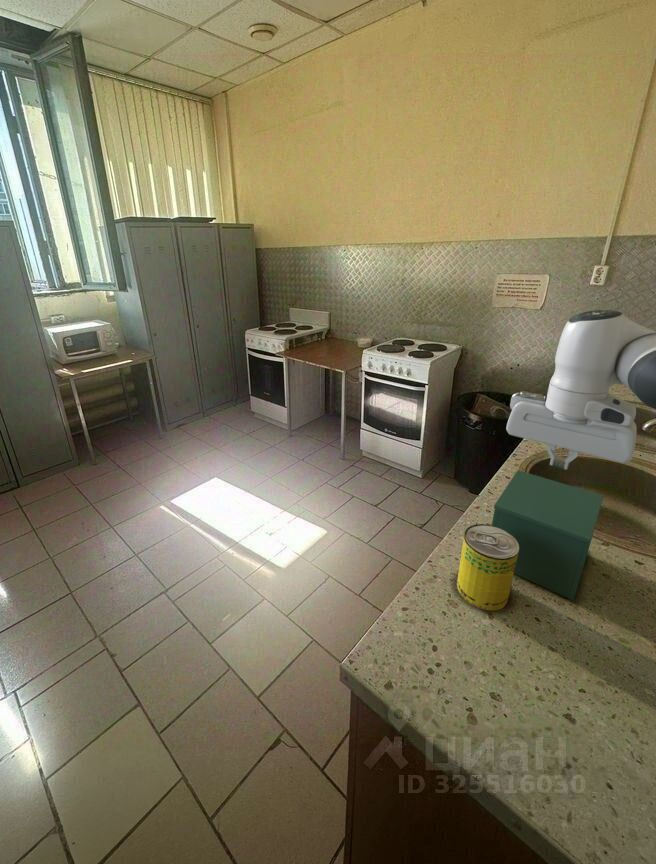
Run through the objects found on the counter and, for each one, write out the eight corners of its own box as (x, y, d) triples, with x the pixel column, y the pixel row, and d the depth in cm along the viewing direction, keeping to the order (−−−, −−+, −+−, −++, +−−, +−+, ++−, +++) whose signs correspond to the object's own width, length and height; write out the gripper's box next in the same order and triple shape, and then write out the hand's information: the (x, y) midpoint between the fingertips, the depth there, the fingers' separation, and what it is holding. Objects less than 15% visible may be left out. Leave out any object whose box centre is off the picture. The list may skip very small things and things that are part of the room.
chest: (573, 600, 73) (591, 540, 68) (485, 560, 83) (495, 505, 78) (586, 553, 84) (602, 499, 79) (507, 523, 94) (517, 473, 89)
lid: (590, 543, 67) (591, 540, 67) (493, 508, 77) (494, 504, 77) (602, 499, 79) (603, 495, 78) (517, 472, 89) (517, 469, 88)
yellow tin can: (512, 615, 70) (524, 563, 66) (458, 604, 73) (466, 552, 69) (503, 577, 78) (513, 528, 74) (455, 568, 81) (462, 520, 77)
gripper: (508, 393, 76) (497, 456, 81) (645, 420, 64) (622, 492, 69) (517, 385, 81) (506, 445, 86) (647, 408, 68) (625, 477, 73)
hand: (558, 466), depth 77 cm, fingers closed
